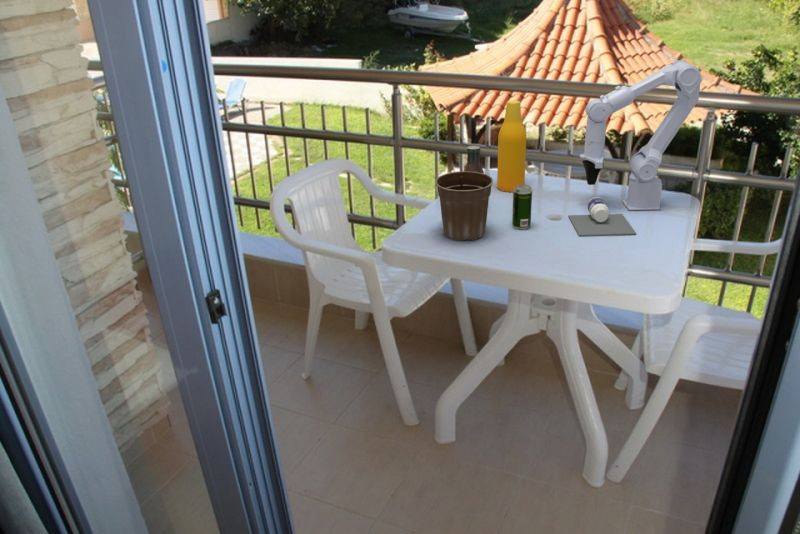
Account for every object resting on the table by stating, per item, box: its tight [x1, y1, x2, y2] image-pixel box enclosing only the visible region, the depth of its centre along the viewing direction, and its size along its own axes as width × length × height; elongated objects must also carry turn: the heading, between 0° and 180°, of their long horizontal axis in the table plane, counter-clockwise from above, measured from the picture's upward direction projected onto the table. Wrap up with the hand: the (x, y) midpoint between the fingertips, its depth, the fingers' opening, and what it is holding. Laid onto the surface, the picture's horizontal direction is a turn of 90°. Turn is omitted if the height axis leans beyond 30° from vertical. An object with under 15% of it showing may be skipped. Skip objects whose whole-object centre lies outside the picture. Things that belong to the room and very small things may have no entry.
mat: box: [568, 213, 637, 237], centre depth 200 cm, size 16×15×1 cm
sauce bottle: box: [463, 145, 485, 174], centre depth 212 cm, size 6×6×20 cm
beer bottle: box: [496, 100, 527, 193], centre depth 226 cm, size 9×9×29 cm
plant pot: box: [434, 170, 494, 242], centre depth 195 cm, size 16×16×16 cm
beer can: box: [511, 184, 533, 230], centre depth 199 cm, size 5×5×12 cm
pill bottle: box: [586, 196, 610, 222], centre depth 203 cm, size 5×5×9 cm
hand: (591, 184), depth 211 cm, fingers closed
